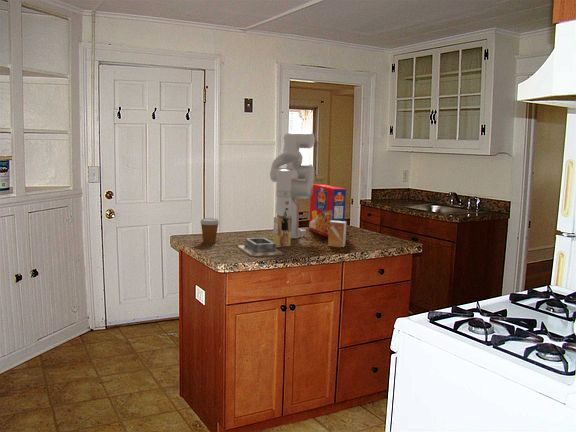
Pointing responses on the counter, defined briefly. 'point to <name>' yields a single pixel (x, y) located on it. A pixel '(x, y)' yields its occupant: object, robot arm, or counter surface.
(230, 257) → the counter surface
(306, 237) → the counter surface
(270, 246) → the slot stand
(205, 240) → the disposable coffee cup
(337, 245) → the small box
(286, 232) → the candy box
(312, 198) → the pasta box
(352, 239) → the counter surface
